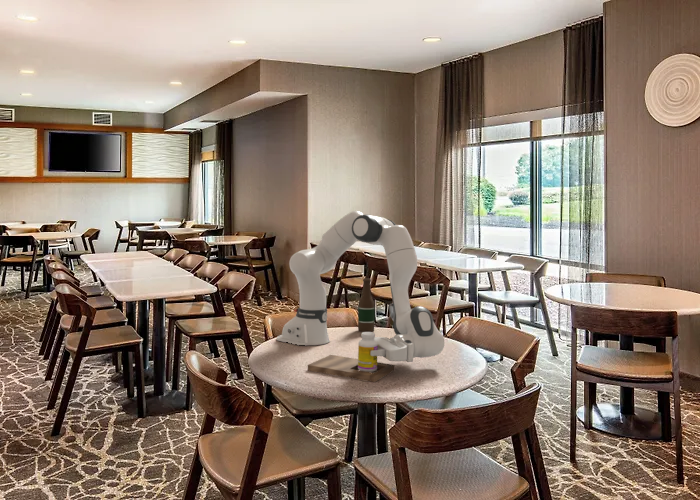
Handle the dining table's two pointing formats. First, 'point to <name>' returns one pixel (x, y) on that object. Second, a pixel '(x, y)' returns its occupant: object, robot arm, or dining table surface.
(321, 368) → the caddy board
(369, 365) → the supplement bottle
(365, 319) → the beer bottle
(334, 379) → the dining table surface
